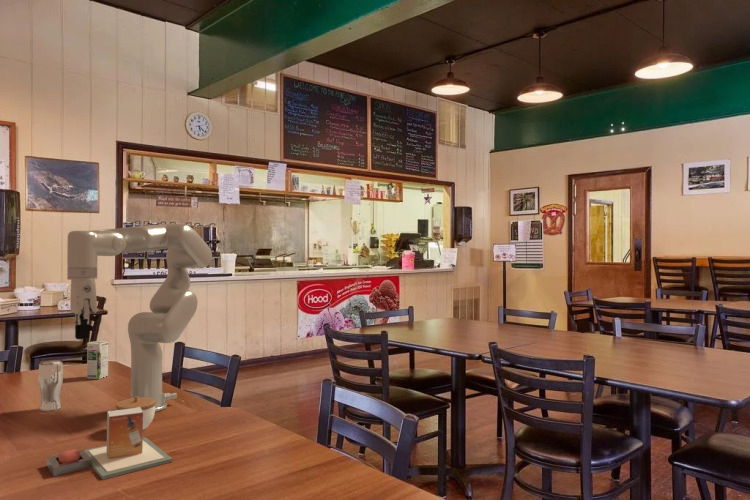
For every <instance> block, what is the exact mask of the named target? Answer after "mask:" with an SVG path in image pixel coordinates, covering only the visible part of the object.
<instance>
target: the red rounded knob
mask: <svg viewBox="0 0 750 500" xmlns="http://www.w3.org/2000/svg"><path fill="white" fill-rule="evenodd" d="M58 455H59V464H63V463H67V462H72V461H76V460H80V451H79V450H78V449H67V450H63V451H62V452H60V453H59V454H58Z"/></svg>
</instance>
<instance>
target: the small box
mask: <svg viewBox="0 0 750 500" xmlns="http://www.w3.org/2000/svg"><path fill="white" fill-rule="evenodd" d="M106 414H107V415H106V445H107V447H106V451H107V456H108V458H114V457H120V456H127V455H134V454H142V449H143V437H144V435H143V433H144V430H143V412H142V409H141V407H136V408H130V409H123V410H116V409H114V410H108V411H107V412H106Z"/></svg>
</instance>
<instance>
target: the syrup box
mask: <svg viewBox="0 0 750 500" xmlns="http://www.w3.org/2000/svg"><path fill="white" fill-rule="evenodd" d="M86 347H87V348H86V350H87V351H86V353H87V354H86V356H87V358H86V359H87V360H86V361H87V362H86V363H87V364H86V379H87V378H88V379H87V380H89V379H90V380H102V379H104V378H107V377H108V376H109V341H100V340H95V341H90V342H87V345H86ZM106 376H107V377H106ZM103 377H104V378H103ZM101 378H102V379H101Z"/></svg>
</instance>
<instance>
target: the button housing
mask: <svg viewBox="0 0 750 500" xmlns="http://www.w3.org/2000/svg"><path fill="white" fill-rule="evenodd" d="M84 450H85V449H80V450H79V451H80V460H76V461H72V462H67V463H63V464H59V454H57V455H52V456H49V457H46V466H47V469H48V470H49V472H50V473H51V475H52V476H53V477H58V476H63V475H65V474H69V473H74V472H77V471H82V470H88V469H93V468H92V459H91V458H90V456H89V455H88V454H87V453H86V452H85V451H84Z"/></svg>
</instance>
